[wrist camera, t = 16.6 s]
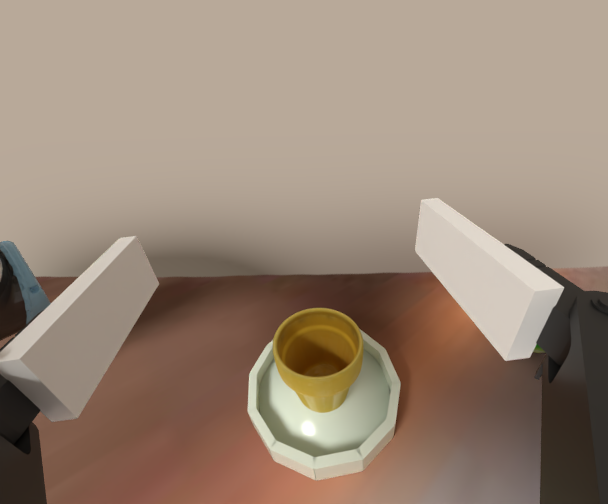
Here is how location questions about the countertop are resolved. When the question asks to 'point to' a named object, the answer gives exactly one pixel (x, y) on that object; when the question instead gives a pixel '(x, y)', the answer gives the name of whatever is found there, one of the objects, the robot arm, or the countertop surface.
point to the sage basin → (326, 417)
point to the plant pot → (319, 356)
